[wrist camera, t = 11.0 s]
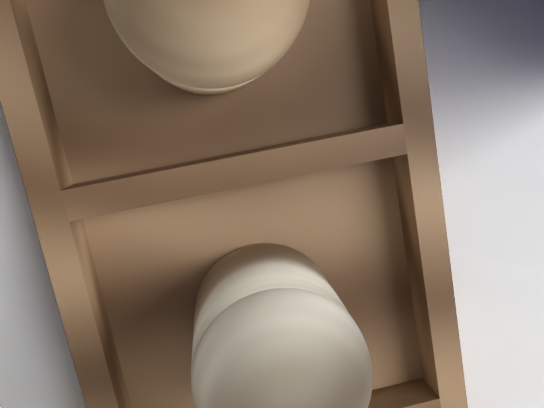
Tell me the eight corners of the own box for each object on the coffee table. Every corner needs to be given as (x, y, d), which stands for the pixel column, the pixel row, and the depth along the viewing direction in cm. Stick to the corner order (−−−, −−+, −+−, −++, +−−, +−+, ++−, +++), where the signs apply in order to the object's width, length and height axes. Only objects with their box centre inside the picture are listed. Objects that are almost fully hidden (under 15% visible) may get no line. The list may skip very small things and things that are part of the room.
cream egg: (179, 261, 18) (162, 359, 11) (317, 228, 18) (381, 303, 12) (212, 387, 19) (215, 545, 12) (342, 353, 19) (415, 488, 13)
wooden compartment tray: (-40, -131, 16) (-75, -166, 14) (369, -188, 17) (390, -227, 15) (179, 672, 22) (176, 728, 20) (470, 590, 23) (495, 635, 21)
